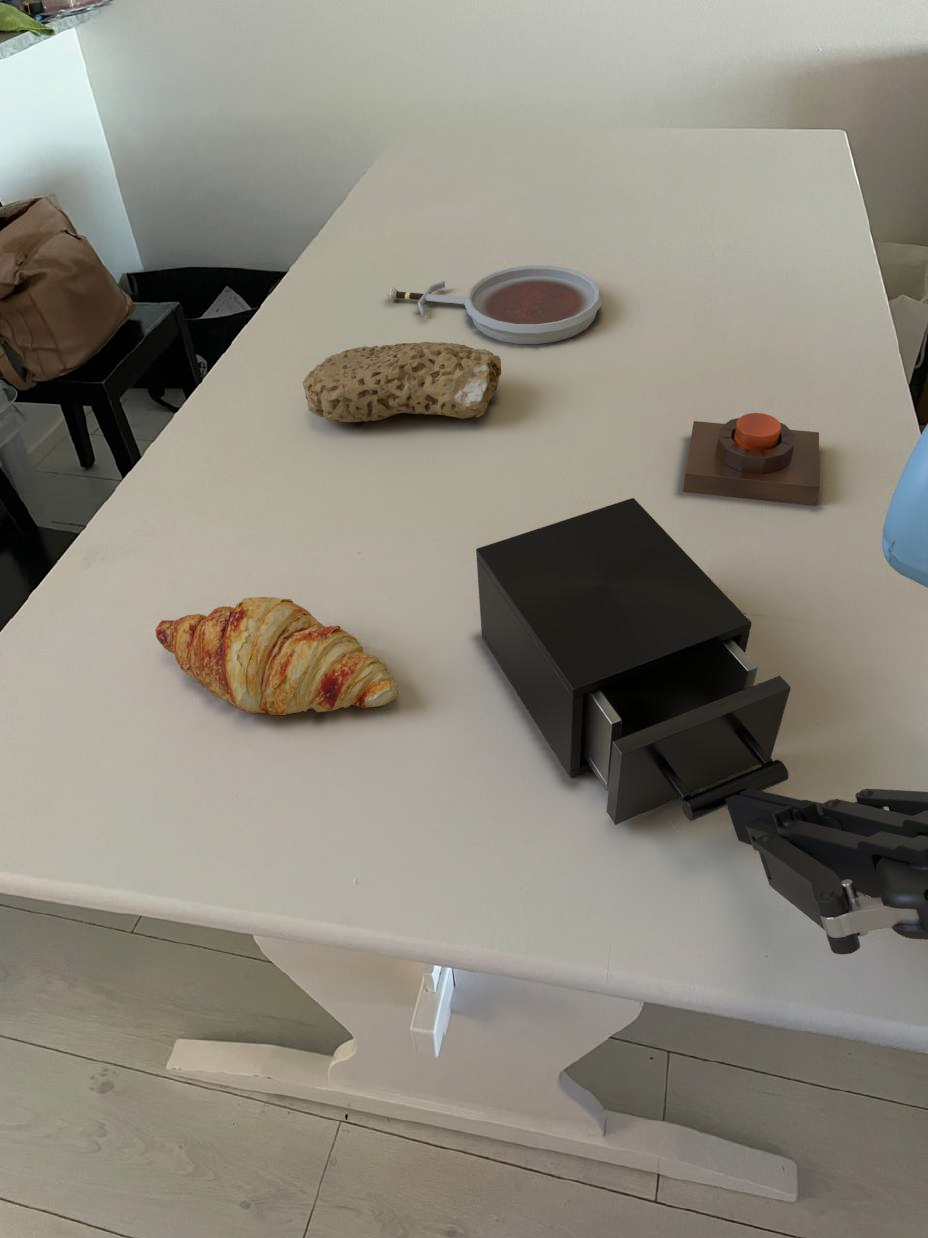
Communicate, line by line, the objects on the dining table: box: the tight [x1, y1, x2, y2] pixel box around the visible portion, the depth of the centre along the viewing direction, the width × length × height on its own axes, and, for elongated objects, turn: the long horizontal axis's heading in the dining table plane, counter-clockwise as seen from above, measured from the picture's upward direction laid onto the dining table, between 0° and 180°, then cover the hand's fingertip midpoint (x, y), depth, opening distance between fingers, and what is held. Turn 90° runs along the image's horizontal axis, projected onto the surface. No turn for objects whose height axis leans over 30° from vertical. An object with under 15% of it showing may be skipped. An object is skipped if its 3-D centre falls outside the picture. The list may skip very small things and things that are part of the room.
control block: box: [682, 417, 820, 507], centre depth 89 cm, size 12×9×4 cm
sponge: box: [302, 341, 502, 423], centre depth 99 cm, size 13×8×20 cm
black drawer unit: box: [475, 497, 752, 778], centre depth 69 cm, size 16×14×10 cm
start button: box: [734, 412, 781, 451], centre depth 87 cm, size 4×4×2 cm
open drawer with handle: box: [581, 638, 792, 826], centre depth 64 cm, size 19×12×8 cm, turn 23°
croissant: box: [154, 596, 399, 716], centre depth 73 cm, size 21×10×8 cm, turn 72°
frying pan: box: [386, 264, 603, 345], centre depth 116 cm, size 17×3×28 cm
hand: (744, 814), depth 57 cm, fingers closed
